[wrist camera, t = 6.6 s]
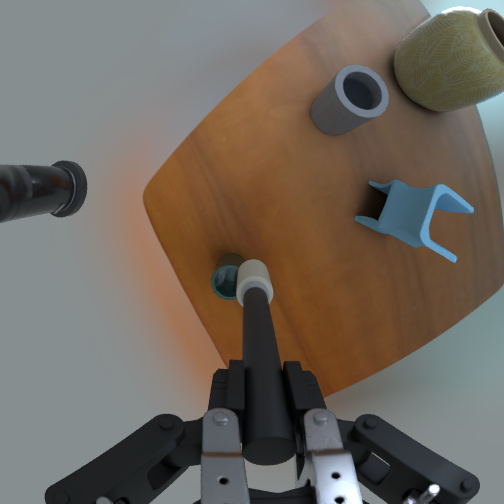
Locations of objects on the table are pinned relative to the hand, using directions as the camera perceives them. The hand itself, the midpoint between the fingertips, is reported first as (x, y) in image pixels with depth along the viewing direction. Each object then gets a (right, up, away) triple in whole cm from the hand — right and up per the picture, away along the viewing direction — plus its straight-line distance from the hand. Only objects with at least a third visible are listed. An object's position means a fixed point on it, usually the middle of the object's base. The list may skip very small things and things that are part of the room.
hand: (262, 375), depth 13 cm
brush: (0, +4, +17) cm, 18 cm away
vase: (+34, +42, +28) cm, 61 cm away
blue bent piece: (+23, +14, +34) cm, 43 cm away
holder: (-4, +3, +36) cm, 36 cm away
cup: (+13, +30, +30) cm, 45 cm away
